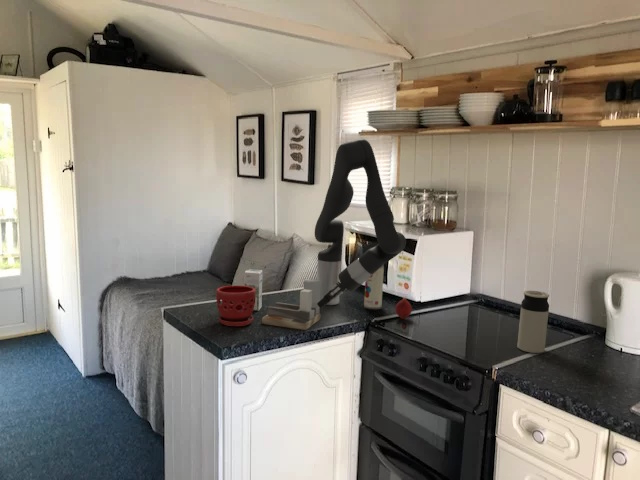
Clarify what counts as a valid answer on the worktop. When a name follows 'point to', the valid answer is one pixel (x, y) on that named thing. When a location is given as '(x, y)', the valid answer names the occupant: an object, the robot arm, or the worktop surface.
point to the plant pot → (236, 304)
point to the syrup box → (255, 285)
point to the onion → (403, 308)
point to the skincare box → (313, 291)
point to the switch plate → (290, 316)
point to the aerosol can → (374, 290)
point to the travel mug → (533, 322)
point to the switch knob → (306, 302)
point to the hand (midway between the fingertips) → (319, 305)
